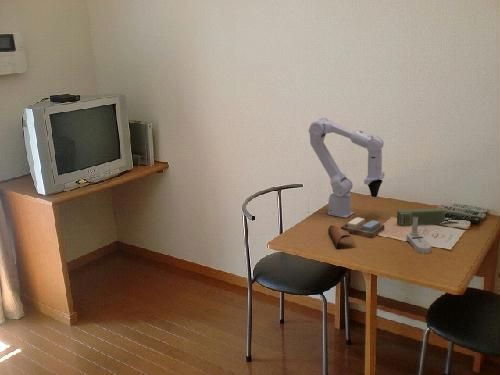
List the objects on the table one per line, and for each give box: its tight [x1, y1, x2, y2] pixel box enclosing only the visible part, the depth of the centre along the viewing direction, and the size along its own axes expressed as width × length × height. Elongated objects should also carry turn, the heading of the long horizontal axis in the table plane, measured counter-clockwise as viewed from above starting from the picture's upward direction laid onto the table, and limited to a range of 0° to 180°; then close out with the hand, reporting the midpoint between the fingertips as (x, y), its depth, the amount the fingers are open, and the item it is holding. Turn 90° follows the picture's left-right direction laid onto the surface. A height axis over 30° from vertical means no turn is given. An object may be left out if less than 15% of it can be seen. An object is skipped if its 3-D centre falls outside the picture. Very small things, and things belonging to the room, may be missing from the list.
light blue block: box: [362, 219, 381, 232], centre depth 222 cm, size 8×4×3 cm, turn 138°
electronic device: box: [406, 217, 432, 254], centre depth 205 cm, size 5×10×15 cm
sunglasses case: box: [327, 225, 358, 250], centre depth 214 cm, size 18×7×7 cm, turn 3°
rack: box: [340, 220, 386, 239], centre depth 223 cm, size 14×11×2 cm
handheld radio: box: [396, 207, 459, 227], centre depth 226 cm, size 7×3×25 cm
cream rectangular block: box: [347, 216, 365, 229], centre depth 226 cm, size 8×4×3 cm, turn 142°
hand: (374, 196), depth 233 cm, fingers closed
